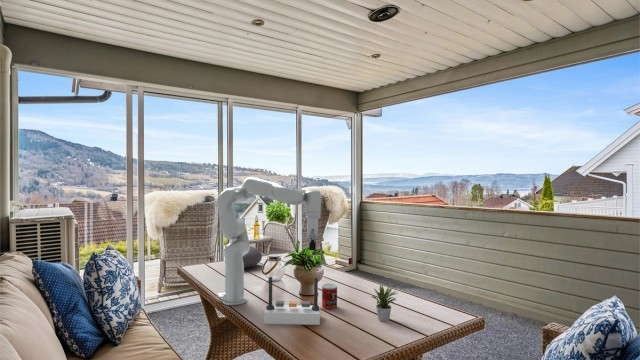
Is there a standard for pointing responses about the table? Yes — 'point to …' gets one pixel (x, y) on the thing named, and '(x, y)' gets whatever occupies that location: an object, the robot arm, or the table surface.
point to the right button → (305, 303)
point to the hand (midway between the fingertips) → (312, 248)
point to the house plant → (384, 303)
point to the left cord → (270, 296)
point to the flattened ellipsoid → (252, 257)
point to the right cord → (315, 295)
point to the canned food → (329, 296)
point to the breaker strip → (292, 315)
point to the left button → (279, 303)
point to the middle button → (292, 303)
